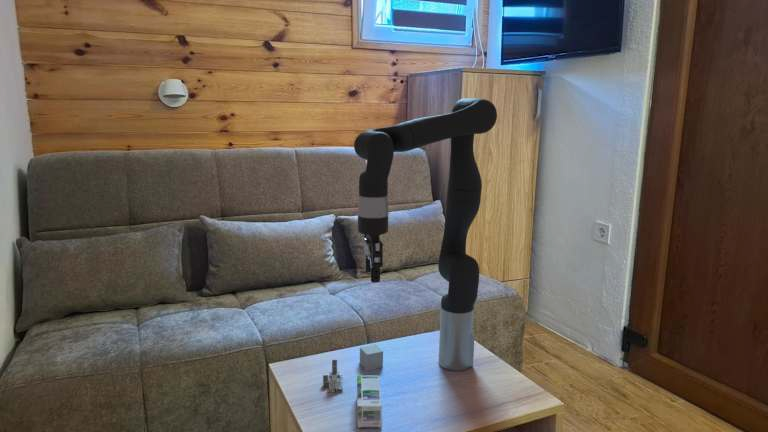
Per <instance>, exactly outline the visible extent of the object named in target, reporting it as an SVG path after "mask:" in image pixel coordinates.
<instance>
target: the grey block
mask: <svg viewBox="0 0 768 432" xmlns="http://www.w3.org/2000/svg"><path fill="white" fill-rule="evenodd" d="M359 363H360V365H361V366H362V367H363V368H364V370H365V371H371V370H376V369H380V368H384V367H383V365H384V350H382V349H381V348H380V347H379V346H378V345H377V344H371V345H366V346H361V347H359Z"/></svg>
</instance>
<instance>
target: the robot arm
mask: <svg viewBox="0 0 768 432" xmlns="http://www.w3.org/2000/svg"><path fill="white" fill-rule="evenodd" d="M497 111H498V110H497V108H496V106H495V104H493V102H492V101H490V100H488V99H485V98H479V97H478V98H468V97H467V98H466V97H465V98H460V99H459V100H457V101H456V102H455V103H454V105H453V107H452V109H451V112H449V113H444V114H439V115H433V116H432V115H431V116H425V117H419V118H418V117H417V118H414V119H412V120H411V119H410V120H407V121H403V122H400V123H398V124H395V125H391V126H385V127H378V128H373V129H368V130H364V131H362V132H361V133H360V134H358V136H357V137H356V138H355V140H354V144H353V148H354V151H355V153H356V155H357V156H358V157H359V158H361V159H362V160H365V161H366V167H365V170H364V171H362V172H361V173H360V174H359V177H358V202H357V232H358V233H359V234H361V235H363V253H364V258H365V272H366V273H370V282H371V283H372V284H373V283H374V284H375V283H380V282H381V268H383V266H384V263H383V262H384V260H383V258H384V257H383V256H384V253H383V252H384V251H383V250H384V249H383V246H384V243H383V241H382V240H381V237H380V236H381V235H385V234H387V233H388V232H389V198H388V190H389V189H388V188H389V185H388V184H389V183H388V180H389V175H390V174H391V173H390V172H391V168H392V164H393V159H394V156H395V155H394V154H395V153H403V152H404V153H405V152H409V151H412V150H415V149H418V148H421V147H425V146H429V145H431V144H434V143H437V142H441V141H444V140H447V139H450V158H449V171H448V172H449V173H448V174H449V175H448V182H447V183H448V184H447V191H446V206H445V207H446V208H445V217H444V226H443V227H444V230H443V236H442V242H441V245H440V246H441V247H440V252H439V257H438V263H437V269H438V272H439V275H440V276H441V277H442V278H443V279H444V280H446V282H448V291H447V293H446V294H443V295H442V297H441V299H440V320H439V321H440V322H439V323H440V325H439V342H438V343H439V347H438V364H439V366H440V367H441V368H444V369H446V370H449V371H458V372H459V371H465V370H468V369H469V368H474V356H475V355H474V354H475V353H474V352H475V338H476V337H475V335H474V334H473V326H474V310H475V309H474V308H475V306H474V305H475V303H476V301H477V298H478V292H479V285H480V284H479V283H480V265H479V262H478V261H477V260H476V258H474V257H473V256H471V255H469V254H467V251H466V250H467V249H466V248H467V237H468V233H469V230H470V227H471V226H472V224H473V221H474V220H475V218H476V216H477V215H478V212H479V210H480V206H481V200H482V199H481V197H482V188H483V185H482V184H483V183H482V177H481V174H480V170H479V167H478V165H477V162H476V159H475V153H474V144H475V143H474V142H475V141H474V139H475V135H481V134H482V135H483V134H486V133H488V132H490V131H491V130H492V129H493V127H494V126H495V124H496V122H497V118H498V112H497ZM375 260H377V261H375Z"/></svg>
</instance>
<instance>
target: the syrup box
mask: <svg viewBox="0 0 768 432" xmlns="http://www.w3.org/2000/svg"><path fill="white" fill-rule="evenodd" d="M380 385H381V383H380V375H357V376H356V397H357V398H356V402H357V403H356V408H357V409H356V412H357V416H356V417H357V428H382V427H383V425H382V424H383V417H382V416H383V414H382V413H383V412H382V411H383V404H382V403H383V402H382V396H381V386H380Z"/></svg>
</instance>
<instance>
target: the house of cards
mask: <svg viewBox="0 0 768 432" xmlns="http://www.w3.org/2000/svg"><path fill="white" fill-rule="evenodd" d="M343 383H344V382H343V374H341V371H338V359H332V360H331V371H329V373H328V375H327V374H326V375H325V374H323V375H322V384H323V388H328V389H327V393H337V392H339V393H340V392H341V393H342V392H343V390H344V388H343Z"/></svg>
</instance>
